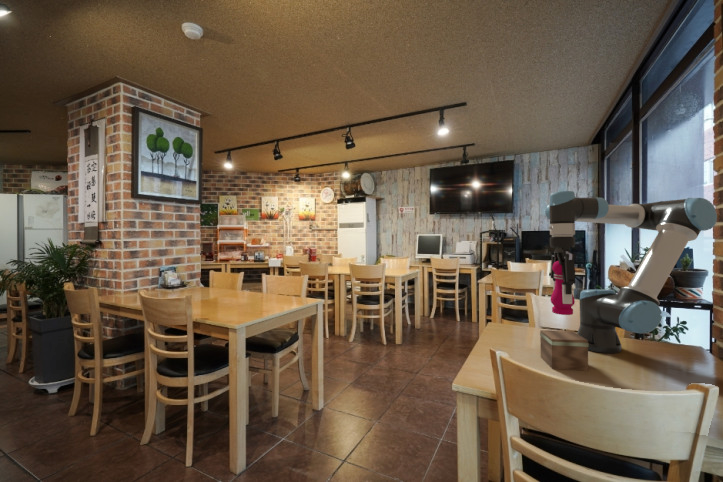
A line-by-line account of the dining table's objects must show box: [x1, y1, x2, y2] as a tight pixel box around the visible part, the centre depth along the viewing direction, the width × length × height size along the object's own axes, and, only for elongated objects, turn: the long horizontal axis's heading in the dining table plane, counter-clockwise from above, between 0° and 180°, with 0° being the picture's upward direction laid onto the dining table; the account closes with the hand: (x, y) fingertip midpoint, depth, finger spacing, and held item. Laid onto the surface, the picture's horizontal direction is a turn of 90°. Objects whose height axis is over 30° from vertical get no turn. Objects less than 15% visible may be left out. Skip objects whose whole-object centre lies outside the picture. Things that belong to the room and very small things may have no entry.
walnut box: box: [539, 329, 589, 372], centre depth 116 cm, size 11×11×10 cm
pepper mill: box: [550, 261, 576, 316], centre depth 116 cm, size 7×7×20 cm
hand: (562, 301), depth 116 cm, fingers closed on pepper mill, 7 cm apart
